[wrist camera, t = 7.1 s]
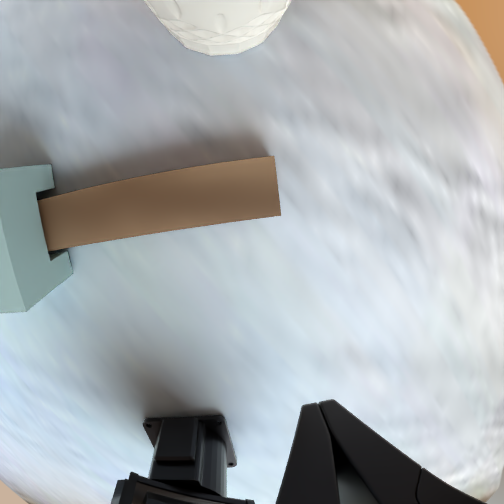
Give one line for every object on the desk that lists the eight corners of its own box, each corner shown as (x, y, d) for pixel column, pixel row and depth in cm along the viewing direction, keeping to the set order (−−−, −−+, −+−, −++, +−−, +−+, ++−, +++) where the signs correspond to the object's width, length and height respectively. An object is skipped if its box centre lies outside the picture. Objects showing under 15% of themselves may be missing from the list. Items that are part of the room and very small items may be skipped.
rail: (279, 235, 19) (303, 278, 12) (-18, 278, 18) (-75, 315, 12) (266, 130, 17) (285, 110, 10) (-35, 203, 17) (-100, 222, 10)
